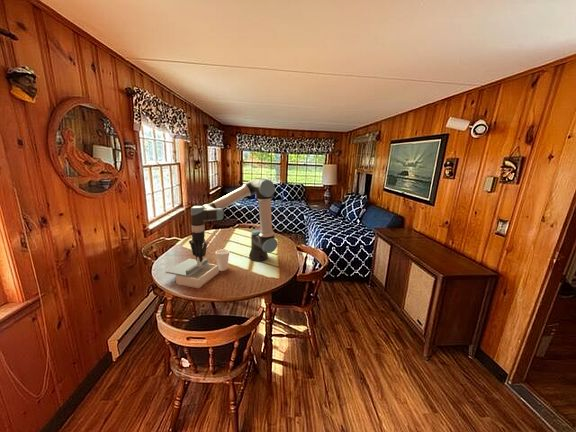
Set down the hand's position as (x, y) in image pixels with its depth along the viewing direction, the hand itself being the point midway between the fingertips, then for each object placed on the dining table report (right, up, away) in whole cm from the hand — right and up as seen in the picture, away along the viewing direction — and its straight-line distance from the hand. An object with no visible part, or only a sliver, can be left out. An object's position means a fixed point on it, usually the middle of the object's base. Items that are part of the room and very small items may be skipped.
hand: (199, 266), depth 154 cm
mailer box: (-2, -9, +2) cm, 9 cm away
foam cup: (+10, -6, +18) cm, 21 cm away
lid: (-9, -2, +3) cm, 9 cm away
